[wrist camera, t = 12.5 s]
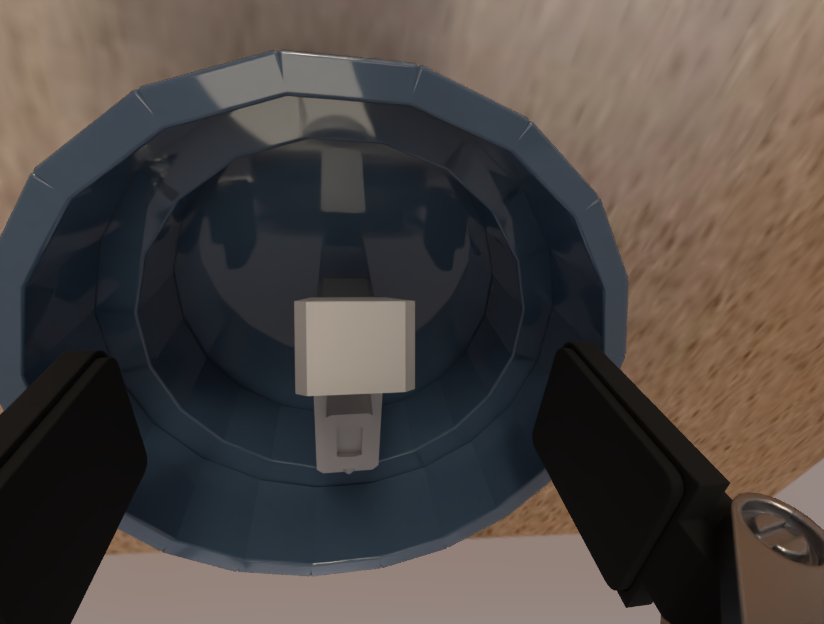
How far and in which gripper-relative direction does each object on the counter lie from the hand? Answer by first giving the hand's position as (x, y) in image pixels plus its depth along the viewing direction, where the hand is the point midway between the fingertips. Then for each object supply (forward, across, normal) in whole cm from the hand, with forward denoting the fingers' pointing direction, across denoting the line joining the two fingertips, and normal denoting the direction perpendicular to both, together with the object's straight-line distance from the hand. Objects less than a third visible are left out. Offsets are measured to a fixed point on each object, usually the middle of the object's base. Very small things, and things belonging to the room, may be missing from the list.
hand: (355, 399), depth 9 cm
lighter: (+6, 0, 0) cm, 6 cm away
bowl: (+6, 0, 0) cm, 6 cm away
